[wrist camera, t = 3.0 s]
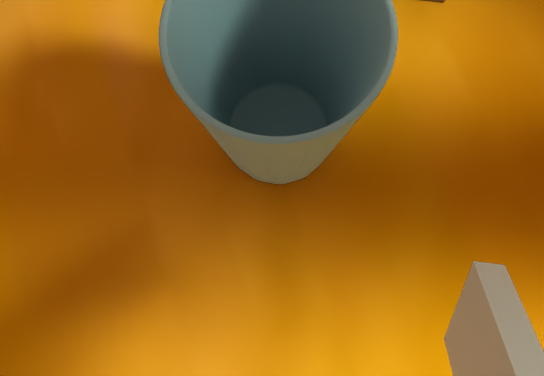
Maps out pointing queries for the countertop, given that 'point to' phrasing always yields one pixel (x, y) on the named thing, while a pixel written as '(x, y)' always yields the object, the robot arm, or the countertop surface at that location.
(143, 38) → the countertop surface
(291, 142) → the cup
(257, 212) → the countertop surface
